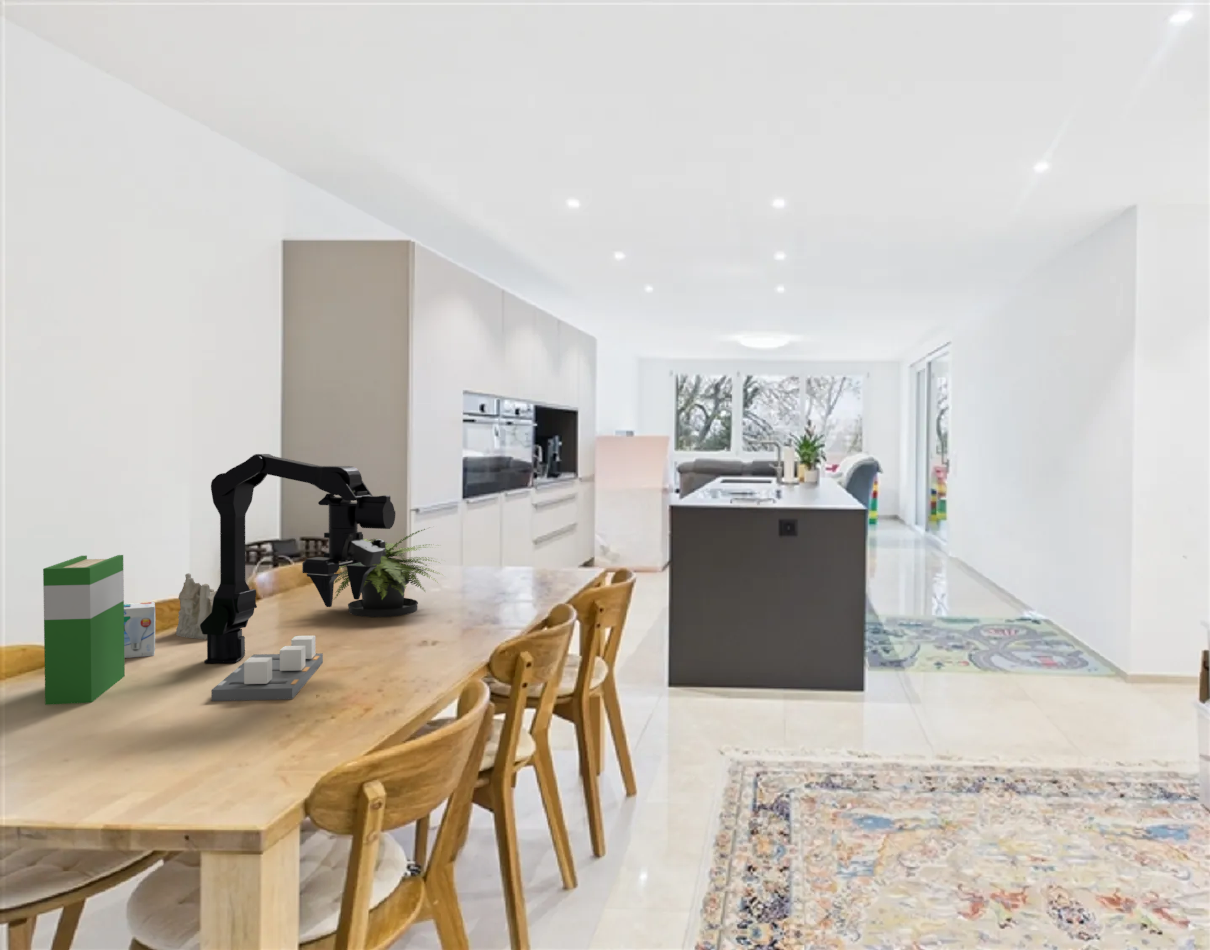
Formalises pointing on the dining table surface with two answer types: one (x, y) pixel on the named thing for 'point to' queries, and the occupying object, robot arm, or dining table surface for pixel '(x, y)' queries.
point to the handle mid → (292, 658)
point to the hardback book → (83, 628)
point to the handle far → (307, 642)
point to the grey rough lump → (194, 608)
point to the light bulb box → (139, 629)
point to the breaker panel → (276, 688)
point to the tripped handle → (258, 670)
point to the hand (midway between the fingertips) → (343, 603)
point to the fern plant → (388, 584)
